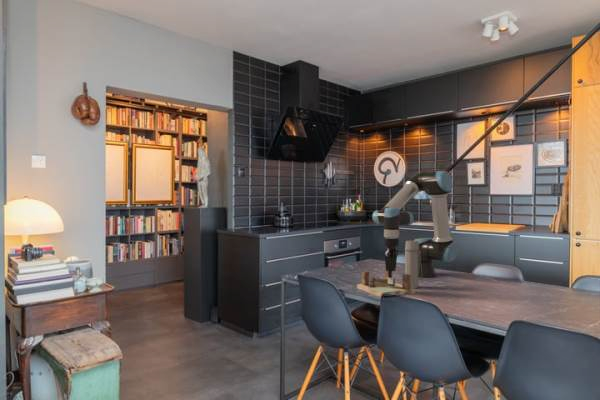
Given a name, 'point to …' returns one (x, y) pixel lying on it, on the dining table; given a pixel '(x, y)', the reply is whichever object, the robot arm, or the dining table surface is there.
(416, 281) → the water bottle
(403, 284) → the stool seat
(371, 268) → the dining table surface
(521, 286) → the dining table surface
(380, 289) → the socket pad
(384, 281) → the keeper leg
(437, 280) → the dining table surface
